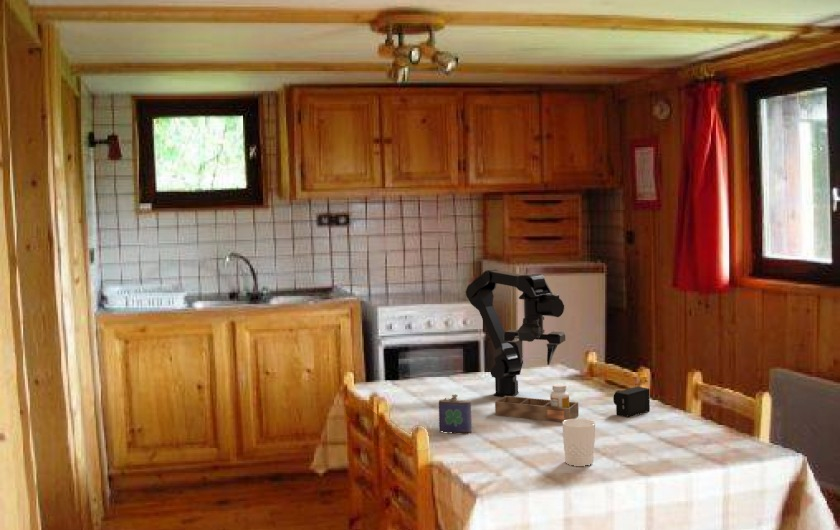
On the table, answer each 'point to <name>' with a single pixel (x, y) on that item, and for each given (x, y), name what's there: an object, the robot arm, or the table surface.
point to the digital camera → (632, 401)
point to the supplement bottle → (559, 396)
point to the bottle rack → (534, 409)
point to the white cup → (579, 441)
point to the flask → (455, 415)
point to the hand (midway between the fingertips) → (534, 363)
